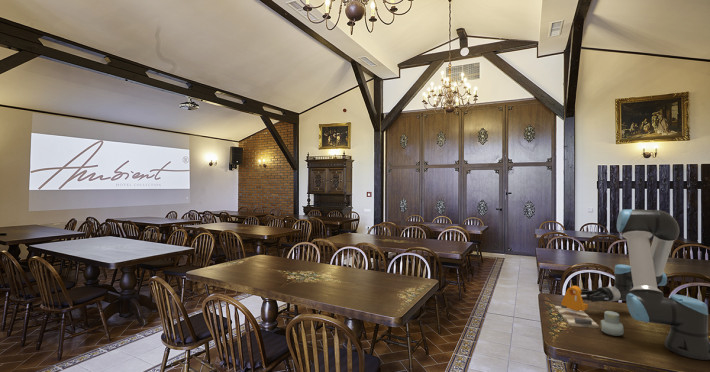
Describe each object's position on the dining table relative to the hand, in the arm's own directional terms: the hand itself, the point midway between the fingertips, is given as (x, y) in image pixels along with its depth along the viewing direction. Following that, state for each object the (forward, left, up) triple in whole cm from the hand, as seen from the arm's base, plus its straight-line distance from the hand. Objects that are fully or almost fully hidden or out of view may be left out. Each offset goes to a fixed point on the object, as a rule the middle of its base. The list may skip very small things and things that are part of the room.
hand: (571, 296), depth 186 cm
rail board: (+1, -2, -12) cm, 12 cm away
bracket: (+1, -2, -7) cm, 7 cm away
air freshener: (-17, -12, -12) cm, 24 cm away
